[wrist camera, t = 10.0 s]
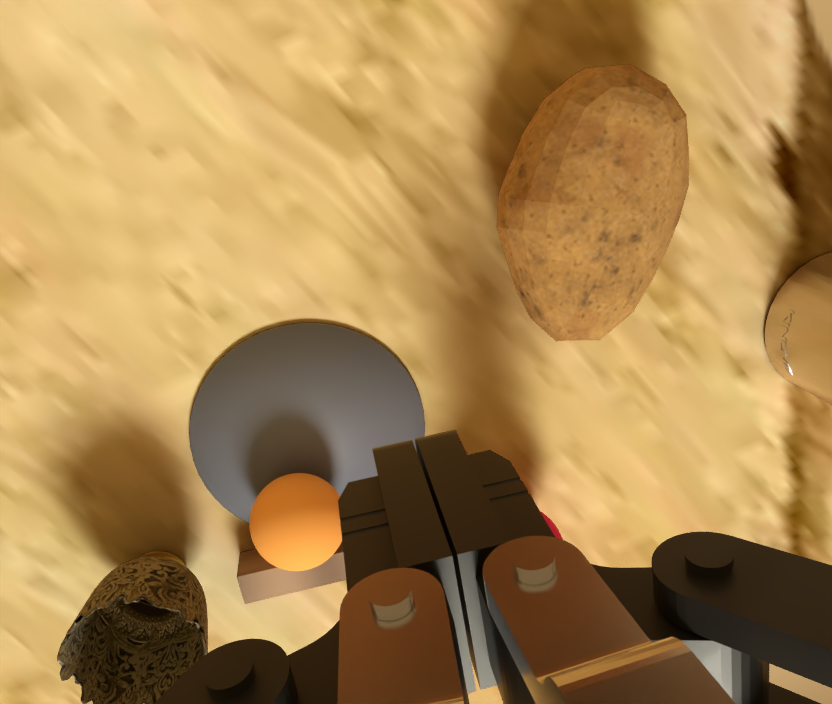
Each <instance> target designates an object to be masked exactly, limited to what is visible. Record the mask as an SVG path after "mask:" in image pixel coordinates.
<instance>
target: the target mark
mask: <svg viewBox="0 0 832 704" xmlns="http://www.w3.org/2000/svg"><path fill="white" fill-rule="evenodd" d="M424 433H425V421H424V411H423V407H422V403H421V399H420V396H419V393H418V391H417V389H416V386H415V384H414V382H413V380H412V378H411V377H410V375H409V373H408V372H407V370H406V369H405V368H404V366H403V365H402V364H401V363H400V361H399V360H398V359H397V358H396V357H395V356H394V355H393V354H392V353H390V352H389V351H388V350H387V349H386V348H384V347H383V346H382V345H380V344H379V343H378V342H376V341H375V340H373V339H371V338H369V337H367V336H365V335H363V334H361V333H359V332H356V331H353V330H351V329H348V328H344V327H340V326H336V325H331V324H322V323H297V324H290V325H283V326H280V327H276V328H272V329H268V330H266V331H264V332H261V333H259V334H256V335H254V336H252V337H250V338H248V339H247V340H245V341H243V342H241V343H240V344H238V345H237V346H236V347H234V348H233V349H232V350H230V351H229V352H228V353H227V354H226V355H224V356H223V357H222V358H221V359H220V360H219V361H218V362H217V363H216V365H215V366H214V367H213V368H212V370H211V371H210V372H209V374H208V375H207V376H206V378H205V380H204V382H203V384H202V385H201V387H200V389H199V391H198V394H197V396H196V399H195V402H194V404H193V409H192V413H191V418H190V430H189V436H190V448H191V452H192V456H193V461H194V463H195V466H196V468H197V471H198V473H199V475H200V477H201V479H202V481H203V482H204V484H205V486H206V487H207V489H208V490H209V491H210V493H211V494H212V495H213V496H214V498H215V499H216V500H217V501H218V502H219V503H220V504H221V505H222V506H223V507H224V508H226V509H227V510H228V511H230V512H231V513H232V514H234V515H235V516H237V517H238V518H240V519H242V520H243V521H245V522H247V523H249V521H250V514H251V509H252V507H253V504H254V502H255V500H256V498H257V496H258V495H259V493H260V492H261V491H262V490H263V489H264V488H265V487H266V486H267V485H268V484H269V483H271V482H272V481H273V480H275V479H277V478H279V477H281V476H284V475H287V474H292V473H307V474H312V475H315V476H318V477H320V478H322V479H324V480H325V481H327V482H328V483H329V484H330V485H332V486H333V487H334V489H335V490H336V491H337V492H338V494H339V495H340V496H341V494H342V493H343V491H344V489H345V487H346V485H347V484H348V482H352V481H356V480H361V479H365V478H370V477H374V476H378V474H377V470H376V465H375V460H374V455H373V450H372V448H377V447H381V446H386V445H390V444H395V443H399V442H403V441H408V440H412V441H413V444H414V447H415V449H416V445H415V439H416V438H421V437H424Z"/></svg>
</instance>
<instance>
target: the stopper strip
mask: <svg viewBox="0 0 832 704" xmlns="http://www.w3.org/2000/svg"><path fill="white" fill-rule="evenodd" d="M237 579H238V583H239V586H240V589H241V592H242V596H243V599H244V602H245V604H247V603H251V602H255V601H259V600H264V599H268V598H272V597H276V596H280V595H285V594H289V593H293V592H297V591H301V590H305V589H310V588H314V587H318V586H322V585H326V584H331V583H335V582H339V581H343V580H346V572H345V562H344V553H343V544H342V542H341V544H340V546H339V547H338V549H337V550H336V552H335V553H334V554H333V555H332V556H331V557H330V558H329V559H328V560H327V561H325V562H324V563H323V564H321V565H319V566H317V567H315V568H312V569H309V570H304V571H288V570H283V569H280V568H278V567H275V566H274V565H272V564H270V563H269V562H268V561H266V560H265V559H264V558H263V557H262V556H261V555H260V554H259V552H258V551H257V549H254V550H250V551H245V552H241V553H240V555H239V564H238V572H237Z"/></svg>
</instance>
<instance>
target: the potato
mask: <svg viewBox="0 0 832 704" xmlns="http://www.w3.org/2000/svg"><path fill="white" fill-rule="evenodd" d="M688 186H689V148H688V134H687V120H686V114H685V112H684V111H683V109H682V108H681V106H680V105H679V103H678V102H677V100H676V99H675V97H674V96H673V94H672V93H671V91H670V90H669V88H668V87H667V85H666V84H664V83H663V82H661V81H659V80H657V79H655V78H654V77H652V76H650V75H648V74H646V73H645V72H643V71H641V70H639V69H637V68H636V67H634V66H632V65H630V64H624V65H613V66H602V67H592V68H584V69H583V70H581V71H579V72H577V73H575V74H574V75H572V76H571V77H570V78H569V79H568V80H566V81H565V82H564V83H563V84H562V85H561V86H559V87H558V88H557V89H556V90H555V91H553V92H552V93H551V94H550V95H549V96H547V97H546V98H545V99H544V100H543V101H542V103H541V105H540V106H539V108H538V109H537V111H536V113H535V114H534V116H533V118H532V119H531V121H530V122H529V124H528V126H527V127H526V129H525V130H524V132H523V134H522V137H521V139H520V142H519V144H518V147H517V149H516V151H515V154H514V156H513V159H512V161H511V164H510V166H509V168H508V171H507V173H506V176H505V178H504V181H503V184H502V186H501V189H500V191H499V199H498V213H497V230H498V233H499V237H500V240H501V243H502V246H503V250H504V253H505V256H506V259H507V262H508V266H509V269H510V272H511V275H512V278H513V281H514V284H515V288H516V290H517V292H518V294H519V296H520V298H521V300H522V302H523V304H524V306H525V308H526V310H527V312H528V314H529V316H530V318H531V319H532V320H533V321H534V322H535V323H537V324H538V325H539V326H540V327H541V328H542V329H543V330H544V331H545V332H547V333H548V334H549V335H550V336H551V337H552V338H553V339H554V340H555V341H567V340H601V339H602V338H603V337H604V336H605V335H606V334H608V333H609V332H610V331H611V330H612V329H613V328H615V327H616V326H617V325H618V324H619V323H621V322H622V321H623V320H624V319H625V318H626V317H628V316H629V315H630V314H631V313H632V312H633V311H634V309H635V308H636V306H637V304H638V303H639V301H640V299H641V298H642V296H643V294H644V293H645V291H646V289H647V288H648V286H649V284H650V283H651V281H652V279H653V277H654V275H655V273H656V271H657V269H658V267H659V265H660V263H661V261H662V259H663V256H664V254H665V252H666V250H667V248H668V245H669V243H670V240H671V238H672V236H673V233H674V231H675V228H676V226H677V223H678V221H679V218H680V214H681V211H682V207H683V204H684V200H685V197H686V193H687V189H688Z"/></svg>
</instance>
